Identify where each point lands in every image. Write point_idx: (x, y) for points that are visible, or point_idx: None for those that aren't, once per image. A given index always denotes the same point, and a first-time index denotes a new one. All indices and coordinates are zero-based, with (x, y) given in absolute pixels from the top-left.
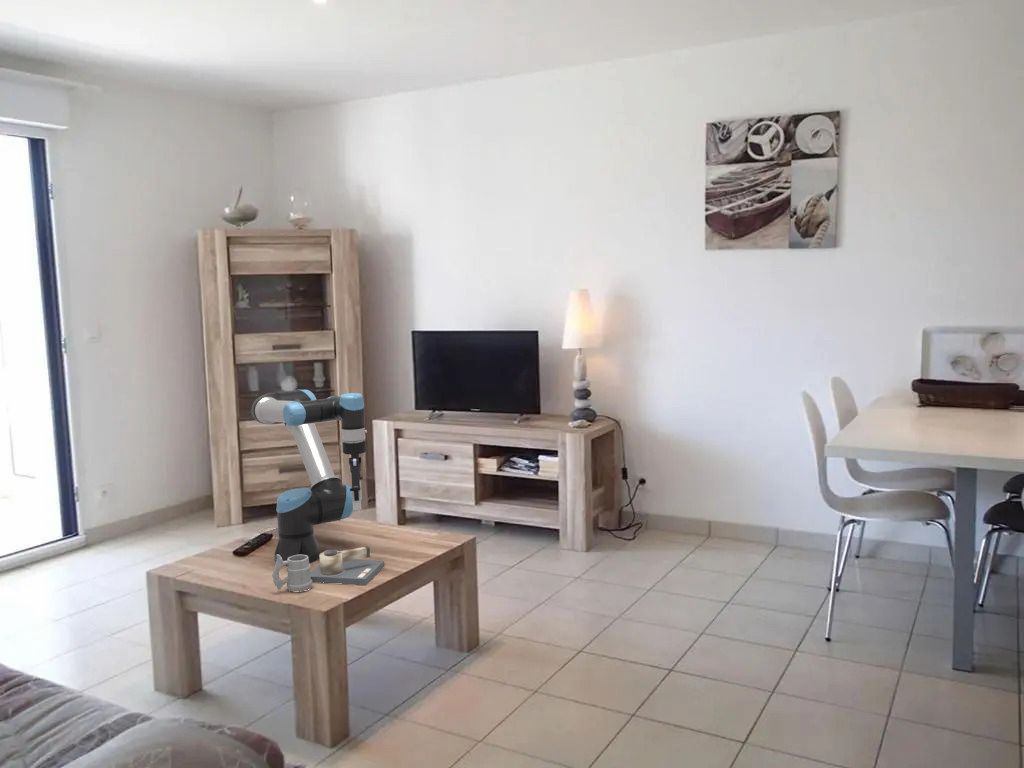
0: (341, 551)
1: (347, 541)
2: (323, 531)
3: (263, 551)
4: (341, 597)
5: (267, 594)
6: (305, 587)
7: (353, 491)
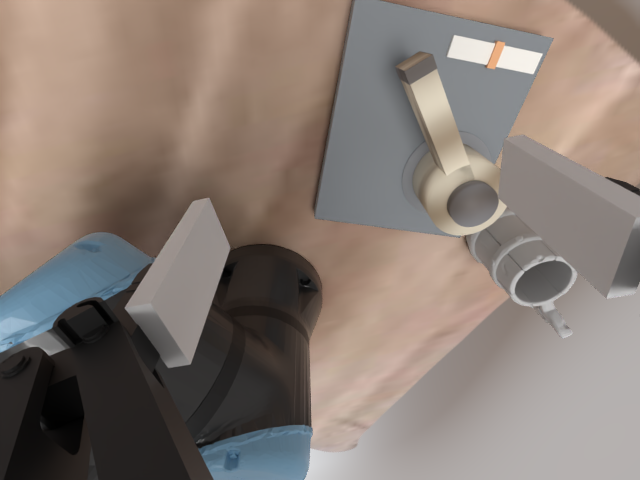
0: (449, 170)
1: (92, 204)
2: None
3: None
4: (616, 99)
5: None
6: None
7: (634, 275)
